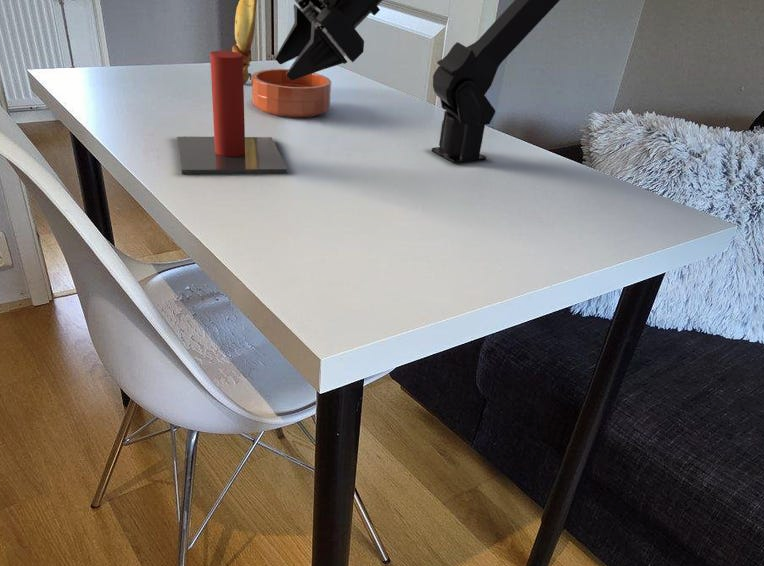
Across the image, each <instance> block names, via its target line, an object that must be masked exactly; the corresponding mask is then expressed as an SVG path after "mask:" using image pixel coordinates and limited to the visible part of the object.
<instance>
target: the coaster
mask: <svg viewBox="0 0 764 566" xmlns="http://www.w3.org/2000/svg"><path fill="white" fill-rule="evenodd" d="M176 141H177V142H176V143H177V148H178V156H179V163H180V170H181V174H182V175H217V174H218V175H233V174H234V175H236V174H239V175H241V174H246V175H247V174H288V168H287V165H286V164H285V162H284V160H283V158H282V155H281V154H280V152H279V149H278V148H277V145H276V144H275V141H274V139H273V137H272V136H245V154H244V155H242V156H238V157H225V156H221V155H218V154H216V152H215V140H214V136H176Z"/></svg>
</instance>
